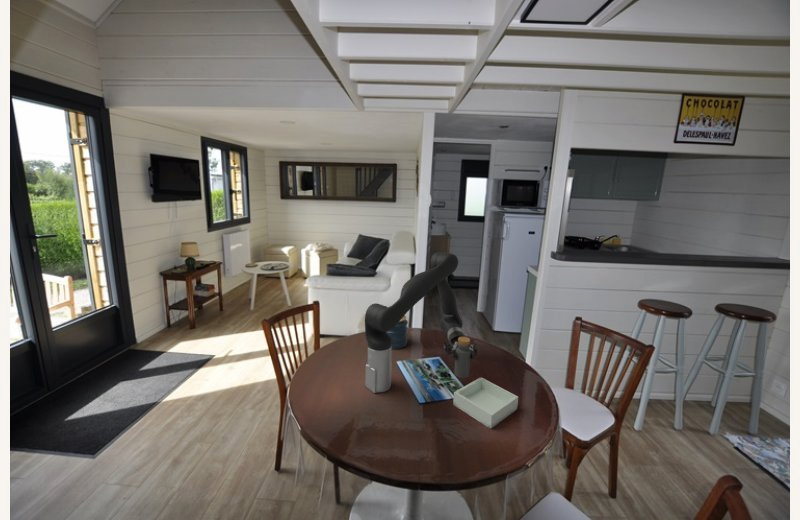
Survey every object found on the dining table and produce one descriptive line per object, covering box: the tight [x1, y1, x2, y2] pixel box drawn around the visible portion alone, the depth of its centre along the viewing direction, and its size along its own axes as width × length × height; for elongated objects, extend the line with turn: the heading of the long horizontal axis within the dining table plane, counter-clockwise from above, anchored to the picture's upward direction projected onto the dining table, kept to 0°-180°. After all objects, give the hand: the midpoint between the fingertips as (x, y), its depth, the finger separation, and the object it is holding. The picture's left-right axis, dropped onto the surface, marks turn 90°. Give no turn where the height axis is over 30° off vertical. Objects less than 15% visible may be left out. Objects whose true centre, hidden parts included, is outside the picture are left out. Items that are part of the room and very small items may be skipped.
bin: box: [452, 376, 519, 430], centre depth 118 cm, size 16×16×5 cm
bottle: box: [453, 336, 472, 379], centre depth 129 cm, size 6×6×15 cm
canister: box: [386, 314, 409, 350], centre depth 165 cm, size 13×13×18 cm
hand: (464, 357), depth 126 cm, fingers closed on bottle, 5 cm apart
